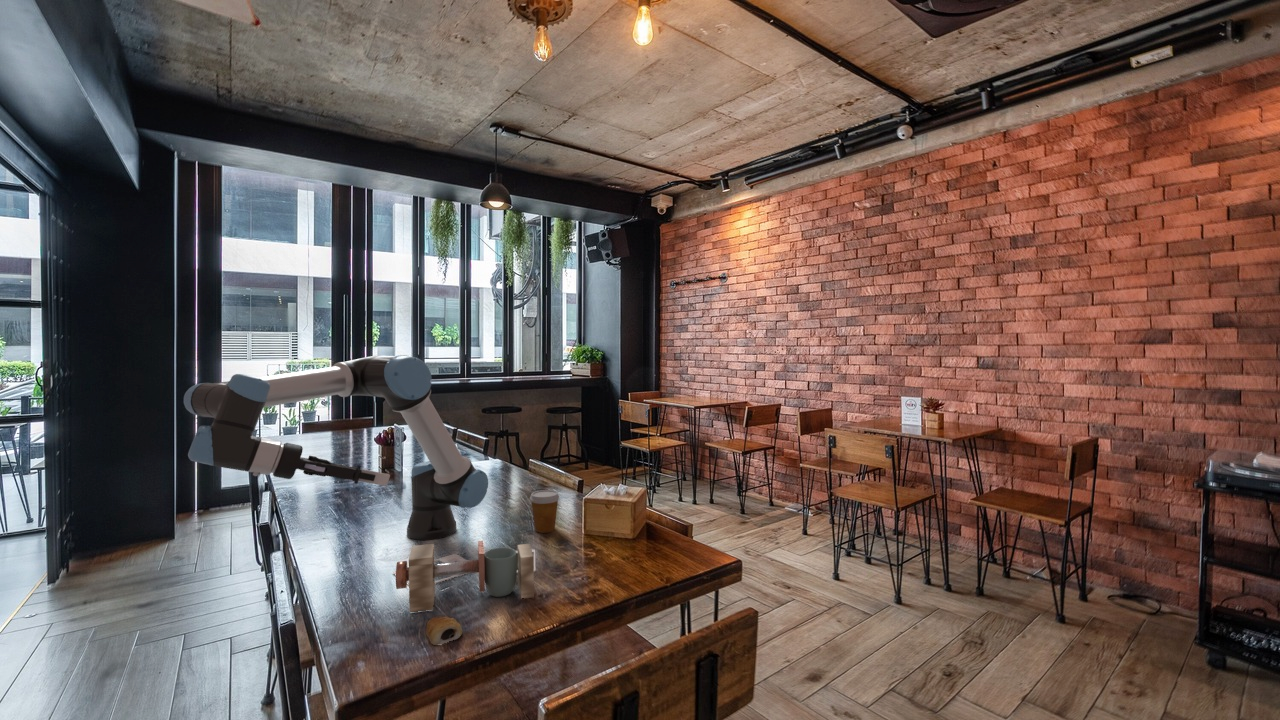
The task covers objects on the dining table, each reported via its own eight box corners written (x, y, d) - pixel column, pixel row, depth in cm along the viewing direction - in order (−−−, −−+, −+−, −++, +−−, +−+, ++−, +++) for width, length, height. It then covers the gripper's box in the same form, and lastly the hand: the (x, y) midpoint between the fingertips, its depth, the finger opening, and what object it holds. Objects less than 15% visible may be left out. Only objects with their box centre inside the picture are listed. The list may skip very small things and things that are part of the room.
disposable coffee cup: (562, 525, 191) (562, 490, 190) (555, 535, 181) (555, 497, 181) (534, 524, 192) (534, 489, 191) (526, 534, 182) (526, 497, 182)
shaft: (395, 602, 128) (394, 563, 128) (399, 586, 137) (398, 549, 136) (484, 591, 134) (484, 553, 134) (483, 576, 142) (483, 540, 142)
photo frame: (481, 567, 154) (415, 587, 141) (481, 571, 154) (415, 592, 141) (455, 553, 164) (392, 571, 152) (455, 556, 164) (392, 575, 152)
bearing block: (409, 614, 129) (408, 559, 129) (413, 596, 138) (412, 545, 137) (432, 610, 130) (432, 557, 130) (434, 593, 139) (434, 543, 139)
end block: (521, 598, 136) (520, 557, 136) (518, 583, 145) (517, 544, 145) (534, 597, 137) (533, 556, 137) (529, 582, 146) (529, 543, 146)
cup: (488, 603, 134) (487, 561, 134) (481, 590, 141) (480, 550, 141) (520, 596, 138) (520, 555, 137) (512, 584, 145) (512, 545, 144)
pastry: (419, 630, 122) (419, 613, 122) (450, 621, 126) (450, 604, 126) (433, 649, 115) (433, 631, 114) (466, 639, 119) (465, 621, 119)
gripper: (269, 472, 129) (377, 492, 141) (272, 479, 118) (388, 499, 131) (281, 440, 130) (387, 462, 143) (285, 444, 120) (399, 467, 132)
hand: (387, 480), depth 137 cm, fingers closed
